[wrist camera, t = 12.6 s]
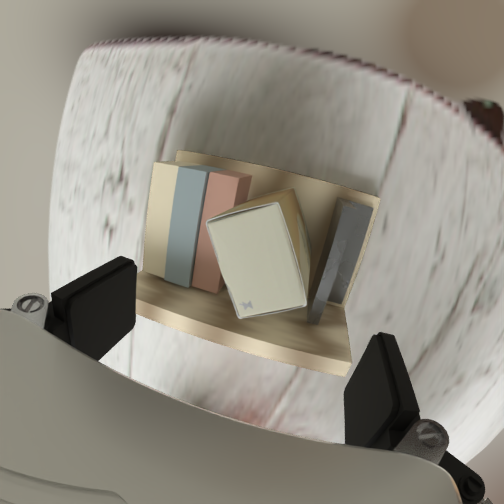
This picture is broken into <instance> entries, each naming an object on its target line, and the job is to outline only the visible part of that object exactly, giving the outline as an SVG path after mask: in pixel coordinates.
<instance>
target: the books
mask: <svg viewBox="0 0 504 504" xmlns="http://www.w3.org/2000/svg"><path fill="white" fill-rule="evenodd" d="M251 180H252V175H249V174H245V173H240V172H236V171H231V170H226V169H221V168H216V167H211V166H206V165H201V164H195V163H190V162H184V161H164V162H154V166H153V172H152V179H151V187H150V194H149V202H148V211H147V221H146V231H145V243H144V256H143V271H145V272H148V273H150V274H153V275H156V276H159V277H162V278H164V280H166V281H169V282H172V283H175V284H178V285H181V286H184V287H187V288H189V287H190V286H191V285H192V286H193V287H197V288H200V289H203V290H206V291H209V292H213V293H216V294H217V293H218V292H219V290H220V289H221V288H222V286H223V285H224V283H225V281H224V278H223V276H222V273H221V270H220V267H219V264H218V261H217V257H216V254H215V251H214V248H213V245H212V242H211V239H210V236H209V233H208V230H207V227H206V221H207V220H208V219H210V218H212V217H214V216H216V215H218V214H220V213H222V212H225V211H227V210H229V209H231V208H233V207H235V206H237V205H239V204H242V203H244V202H246V201H247V199H248V194H249V189H250V185H251Z"/></svg>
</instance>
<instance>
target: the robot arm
mask: <svg viewBox="0 0 504 504" xmlns="http://www.w3.org/2000/svg"><path fill="white" fill-rule="evenodd" d="M136 283H137V266H136V265H135V263H134V261H133V260H131V259H128V258H126V257H123V256H119V257H117V258H115V259H113V260H111V261H109V262H107V263H105V264H104V265H102V266H100V267H98V268H96V269H94V270H92V271H90V272H88V273H87V274H85V275H83V276H81V277H79V278H77V279H76V280H74V281H72V282H70V283H68V284H66V285H65V286H63V287H61V288H59V289H58V290H56V291H54V292H52V293H51V297H52V301H51V302H49V303H48V300H47V298H46V297H45V296H43V295H41V294H36V293H28V294H24V295H22V296H20V297H18V298H17V299H16V300H15V301H14V303H13V305H12V308H11V309H0V504H493V503H492V502H491V501H490V499H489V498H486V499H485V500H484V499H483V497H484V494H485V485H484V482H483V481H482V479H481V477H480V476H479V475H478V474H476V473H475V472H474V471H473V470H471V469H470V468H469V467H467V466H466V465H465V464H463V463H462V462H461V461H459V460H458V459H457V458H455V457H454V456H453V455H451V454H450V453H449V452H448V451H446V449H447V447H448V444H449V436H448V433H447V431H446V430H445V429H444V427H443V426H442V425H440V424H439V423H438V422H436V421H434V420H430V419H420V415H419V412H420V410H419V407H418V403H417V400H416V397H415V394H414V390H413V387H412V384H411V381H410V378H409V375H408V372H407V369H406V366H405V364H404V361H403V358H402V355H401V352H400V350H399V347H398V344H397V342H396V339H395V336H394V335H391V334H387V333H382V332H379V333H378V334H377V335H373V336H372V338H371V340H370V342H369V344H368V346H367V348H366V350H365V352H364V354H363V356H362V358H361V360H360V362H359V363H358V365H357V367H356V369H355V371H354V373H353V375H352V376H351V378H350V380H349V382H348V384H347V385H346V388H345V391H344V415H345V444H340V443H333V442H327V441H322V440H317V439H312V438H307V437H302V436H297V435H293V434H288V433H284V432H280V431H276V430H272V429H268V428H264V427H260V426H257V425H253V424H250V423H246V422H243V421H240V420H236V419H233V418H230V417H227V416H224V415H221V414H218V413H215V412H212V411H209V410H206V409H203V408H201V407H198V406H195V405H192V404H190V403H187V402H185V401H182V400H180V399H177V398H175V397H172V396H170V395H167V394H165V393H163V392H160V391H158V390H156V389H153V388H151V387H149V386H147V385H145V384H142V383H140V382H138V381H136V380H134V379H132V378H130V377H128V376H125V375H123V374H121V373H119V372H117V371H115V370H114V369H112V368H110V367H108V366H106V365H104V364H102V363H100V362H98V361H99V360H100V359H101V358H102V357H103V356H104V355H105V354H106V353H107V352H108V351H109V350H110V349H111V348H112V347H114V346H115V345H116V344H117V343H118V342H119V341H120V340H121V339H122V338H123V337H124V336H125V335H126V334H127V333H129V332H130V331H131V330H132V329H133V327H134V325H135V322H136Z"/></svg>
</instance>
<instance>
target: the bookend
mask: <svg viewBox="0 0 504 504" xmlns="http://www.w3.org/2000/svg"><path fill="white" fill-rule="evenodd" d="M373 209H374V208H373V207H370V206H367V205H363V204H360V203H357V202H353V201H350V200H347V199H343V198H340V197H337V200H336V204H335V208H334V211H333V215H332V218H331V222H330V226H329V229H328V233H327V236H326V239H325V243H324V246H323V250H322V253H321V256H320V260H319V263H318V266H317V269H316V272H315V276H314V279H313V282H312V285H311V288H310V291H309V295H308V310H307V323H311V324H315V325H318V324H319V321H320V318H321V316H322V313H323V310H324V308H325V305H326V302H327V301H330V302H334V303H338V304H342V302H343V299H344V297H345V294H346V291H347V289H348V286H349V283H350V280H351V277H352V275H353V272H354V269H355V266H356V263H357V260H358V257H359V254H360V251H361V248H362V245H363V242H364V239H365V236H366V233H367V229H368V226H369V223H370V219H371V216H372V213H373Z"/></svg>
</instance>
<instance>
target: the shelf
mask: <svg viewBox="0 0 504 504" xmlns="http://www.w3.org/2000/svg"><path fill="white" fill-rule="evenodd" d="M175 161H184V162H190V163H195V164H201V165H206V166H211V167H216V168H221V169H226V170H231V171H236V172H240V173H245V174H249V175H252V180H251V185H250V189H249V194H248V199H247V201H248V200H250V199H252V198H255V197H258V196H261V195H265V194H268V193H272V192H276V191H280V190H284V189H288V188H292V187H295V189H296V192H297V195H298V198H299V201H300V204H301V207H302V211H303V214H304V217H305V221H306V225H307V229H308V233H309V238H310V242H311V247H312V249H311V260H310V273H309V284H308V295H309V291H310V288H311V285H312V282H313V279H314V276H315V272H316V269H317V266H318V263H319V260H320V256H321V253H322V250H323V246H324V243H325V239H326V236H327V233H328V229H329V226H330V222H331V218H332V215H333V211H334V208H335V204H336V200H337V197H340V198H343V199H347V200H350V201H353V202H357V203H360V204H363V205H367V206H370V207H373V208H374V209H373V213H372V216H371V219H370V223H369V226H368V229H367V233H366V236H365V239H364V242H363V245H362V248H361V251H360V254H359V257H358V260H357V263H356V266H355V269H354V272H353V275H352V277H351V280H350V283H349V286H348V289H347V291H346V294H345V297H344V299H343V302H342V304H338V303H334V302H330V301H327V302H326V305H325V308H324V310H323V313H322V316H321V318H320V321H319V324H318V325H315V324H311V323H307V310H308V295H307V305H306V306H305V307H301V308H296V309H293V310H289V311H284V312H279V313H273V314H267V315H262V316H255V317H248V318H242V319H239V318H238V317H237V314H236V311H235V308H234V306H233V303H232V300H231V297H230V295H229V292H228V289H227V286H226V283H224V285H223V286H222V288H221V289H220V290H219V292H218V293H217V294H216V293H213V292H209V291H206V290H203V289H200V288H197V287H193V286H192V285H191V286H190V287H189V288H187V287H184V286H181V285H178V284H175V283H172V282H169V281H166V280H164V278H162V277H159V276H156V275H153V274H150V273H148V272H145V271H143V270H142V271H140V272H139V273H137V283H136V314H138V315H140V316H143V317H145V318H148V319H151V320H153V321H156V322H158V323H161V324H163V325H166V326H169V327H171V328H174V329H177V330H180V331H182V332H185V333H188V334H191V335H194V336H197V337H199V338H202V339H205V340H208V341H211V342H214V343H217V344H221V345H224V346H227V347H230V348H233V349H237V350H240V351H243V352H246V353H250V354H253V355H257V356H260V357H264V358H267V359H271V360H275V361H278V362H282V363H286V364H290V365H294V366H298V367H302V368H306V369H310V370H315V371H319V372H324V373H328V374H333V375H337V376H342V377H345V375H346V374H347V372H348V370H349V368H350V366H351V364H352V359H351V351H350V344H349V337H348V330H347V323H346V317H345V311H344V307H345V304H346V302H347V299H348V297H349V294H350V291H351V289H352V286H353V283H354V281H355V278H356V275H357V272H358V269H359V267H360V264H361V261H362V258H363V255H364V252H365V249H366V246H367V243H368V240H369V237H370V233H371V230H372V227H373V224H374V220H375V217H376V214H377V210H378V207H379V203H380V198H378V197H376V196H373V195H370V194H367V193H364V192H360V191H357V190H354V189H350V188H347V187H344V186H340V185H337V184H333V183H330V182H326V181H322V180H319V179H315V178H311V177H307V176H303V175H300V174H296V173H292V172H287V171H283V170H279V169H275V168H271V167H266V166H262V165H257V164H253V163H248V162H243V161H238V160H233V159H228V158H223V157H218V156H213V155H207V154H201V153H196V152H190V151H183V150H177V154H176V159H175Z"/></svg>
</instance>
